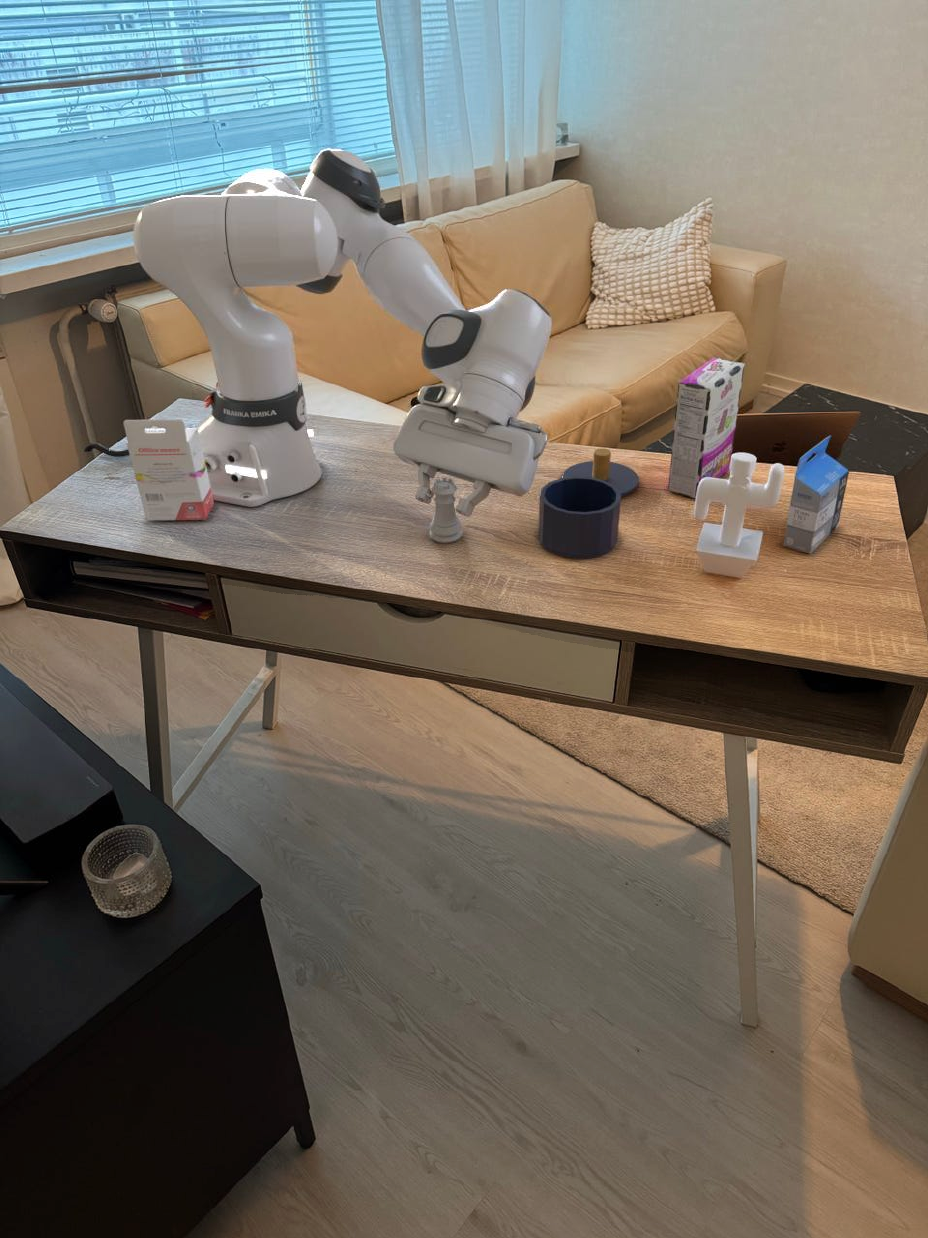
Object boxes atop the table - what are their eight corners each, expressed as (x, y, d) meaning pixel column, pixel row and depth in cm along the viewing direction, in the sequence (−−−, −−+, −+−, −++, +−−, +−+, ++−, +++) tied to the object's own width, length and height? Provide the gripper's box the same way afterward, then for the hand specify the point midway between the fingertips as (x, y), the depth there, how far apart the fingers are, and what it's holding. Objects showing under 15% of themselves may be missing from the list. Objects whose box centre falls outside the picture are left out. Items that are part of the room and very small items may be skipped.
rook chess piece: (459, 546, 120) (457, 491, 115) (425, 543, 121) (422, 488, 116) (466, 529, 123) (464, 475, 119) (433, 526, 124) (431, 472, 119)
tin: (534, 555, 117) (535, 510, 114) (543, 517, 126) (545, 474, 122) (614, 562, 116) (618, 516, 112) (619, 522, 124) (622, 479, 120)
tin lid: (558, 499, 130) (559, 466, 127) (565, 465, 138) (567, 433, 135) (637, 504, 128) (640, 471, 125) (639, 469, 137) (642, 438, 134)
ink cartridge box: (215, 503, 130) (195, 405, 122) (206, 520, 126) (185, 420, 118) (156, 504, 131) (132, 406, 122) (145, 521, 127) (119, 421, 118)
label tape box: (810, 555, 116) (830, 466, 109) (779, 545, 118) (797, 457, 111) (838, 528, 121) (859, 442, 114) (808, 518, 123) (827, 433, 116)
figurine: (691, 545, 118) (707, 437, 110) (767, 558, 116) (789, 448, 107) (682, 574, 113) (697, 463, 104) (761, 588, 110) (783, 474, 102)
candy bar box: (698, 462, 138) (713, 355, 129) (730, 471, 136) (747, 362, 126) (664, 491, 131) (677, 380, 121) (696, 500, 128) (712, 388, 119)
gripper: (560, 438, 117) (519, 537, 117) (432, 405, 127) (393, 496, 126) (543, 417, 112) (499, 521, 111) (410, 384, 122) (369, 479, 121)
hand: (442, 507), depth 119 cm, fingers open, 5 cm apart
